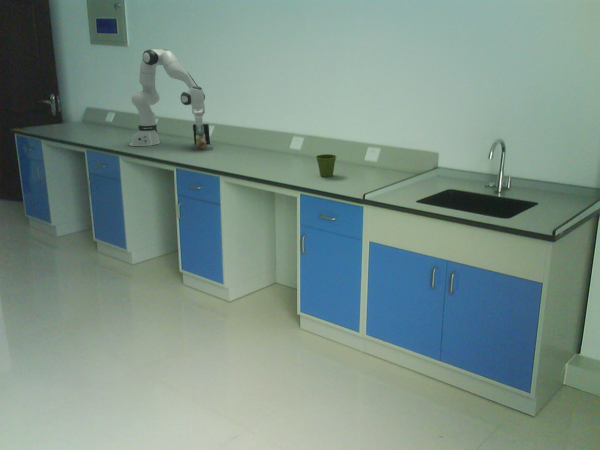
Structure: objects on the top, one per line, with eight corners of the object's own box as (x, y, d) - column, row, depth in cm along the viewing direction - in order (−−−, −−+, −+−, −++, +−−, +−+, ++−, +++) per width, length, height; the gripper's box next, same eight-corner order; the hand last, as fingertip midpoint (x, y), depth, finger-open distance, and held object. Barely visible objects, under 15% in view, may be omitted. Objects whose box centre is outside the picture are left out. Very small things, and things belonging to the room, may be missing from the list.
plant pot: (312, 175, 344) (311, 155, 340) (329, 172, 349) (329, 153, 346) (323, 179, 334) (323, 159, 330) (341, 176, 339) (340, 156, 336)
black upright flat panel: (210, 144, 444) (208, 123, 439) (209, 145, 440) (207, 124, 435) (195, 144, 445) (194, 123, 441) (194, 145, 441) (192, 124, 437)
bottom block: (196, 150, 420) (195, 143, 418) (196, 148, 427) (196, 141, 425) (206, 149, 421) (205, 142, 419) (206, 147, 427) (206, 141, 426)
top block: (196, 143, 419) (195, 135, 417) (196, 141, 425) (196, 134, 423) (205, 142, 420) (204, 135, 418) (205, 141, 425) (204, 134, 424)
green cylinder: (196, 134, 417) (195, 125, 416) (196, 133, 423) (195, 124, 421) (204, 134, 418) (203, 125, 416) (204, 132, 423) (203, 124, 421)
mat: (189, 152, 417) (189, 151, 417) (190, 148, 429) (190, 148, 428) (212, 150, 419) (212, 150, 419) (213, 147, 430) (213, 147, 430)
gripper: (194, 108, 425) (196, 128, 429) (193, 112, 405) (194, 133, 410) (203, 108, 425) (204, 128, 430) (202, 112, 406) (204, 132, 410)
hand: (200, 130), depth 420 cm, fingers closed on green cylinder, 5 cm apart
